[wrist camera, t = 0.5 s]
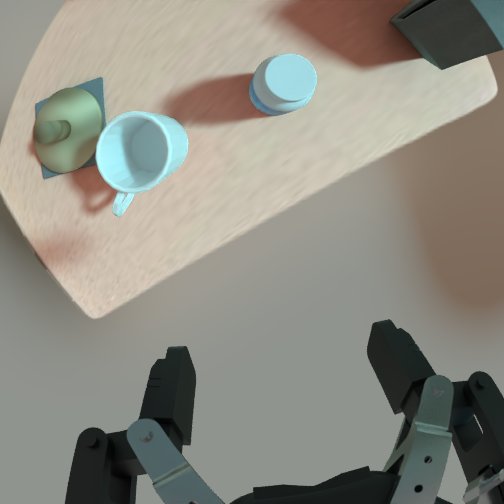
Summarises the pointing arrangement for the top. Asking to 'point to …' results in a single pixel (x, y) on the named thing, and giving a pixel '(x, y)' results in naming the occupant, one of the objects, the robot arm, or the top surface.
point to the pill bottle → (282, 84)
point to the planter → (452, 29)
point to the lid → (68, 129)
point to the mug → (139, 153)
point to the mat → (97, 91)
